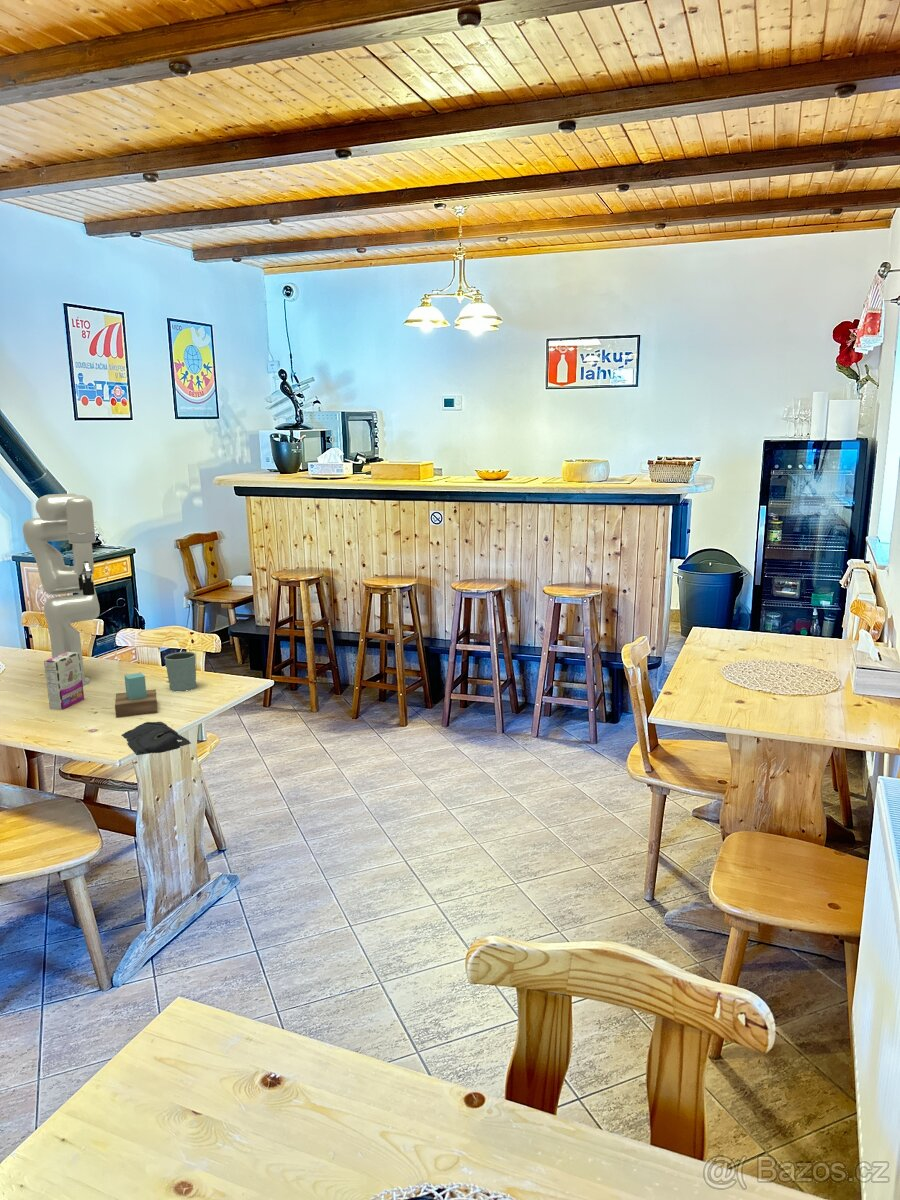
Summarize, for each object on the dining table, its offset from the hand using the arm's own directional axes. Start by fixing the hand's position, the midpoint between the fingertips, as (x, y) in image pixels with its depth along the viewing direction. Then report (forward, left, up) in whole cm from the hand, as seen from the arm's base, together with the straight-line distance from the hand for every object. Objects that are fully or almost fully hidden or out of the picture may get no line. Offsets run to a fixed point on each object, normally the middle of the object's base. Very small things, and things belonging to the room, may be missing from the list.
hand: (86, 592), depth 250 cm
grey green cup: (-4, +27, -38) cm, 47 cm away
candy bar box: (-6, -9, -38) cm, 39 cm away
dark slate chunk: (+42, +10, -38) cm, 58 cm away
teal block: (+12, +10, -33) cm, 36 cm away
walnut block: (+11, +10, -38) cm, 41 cm away
